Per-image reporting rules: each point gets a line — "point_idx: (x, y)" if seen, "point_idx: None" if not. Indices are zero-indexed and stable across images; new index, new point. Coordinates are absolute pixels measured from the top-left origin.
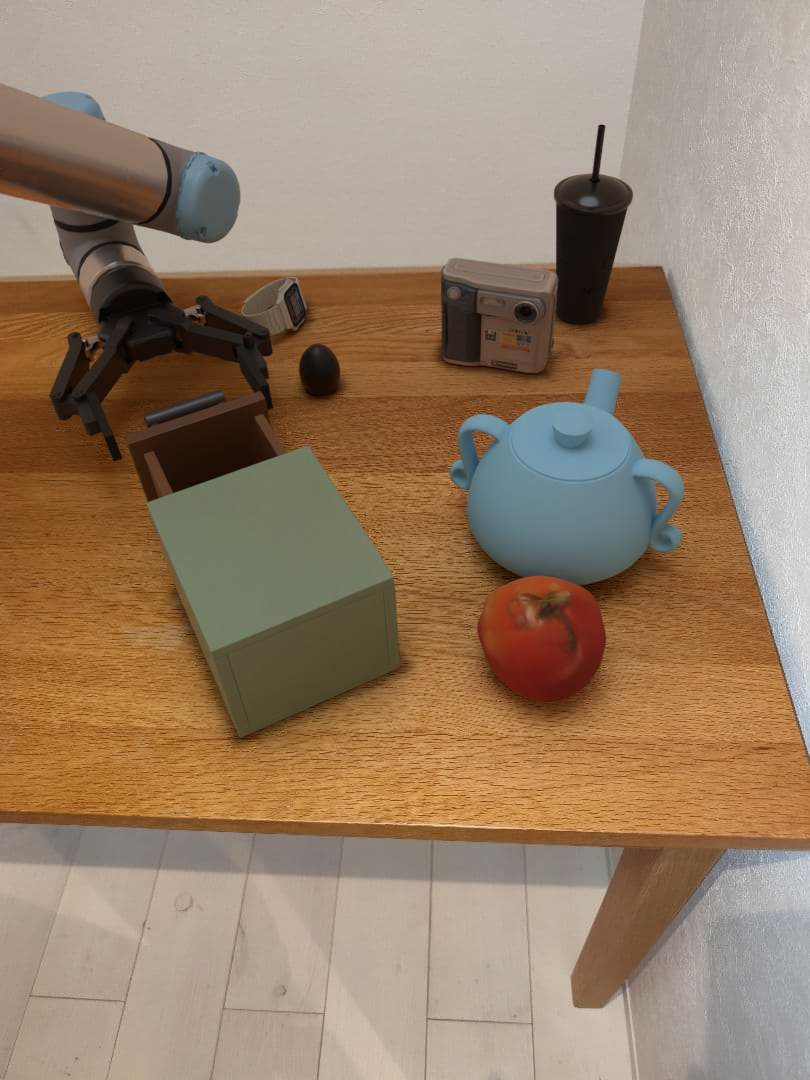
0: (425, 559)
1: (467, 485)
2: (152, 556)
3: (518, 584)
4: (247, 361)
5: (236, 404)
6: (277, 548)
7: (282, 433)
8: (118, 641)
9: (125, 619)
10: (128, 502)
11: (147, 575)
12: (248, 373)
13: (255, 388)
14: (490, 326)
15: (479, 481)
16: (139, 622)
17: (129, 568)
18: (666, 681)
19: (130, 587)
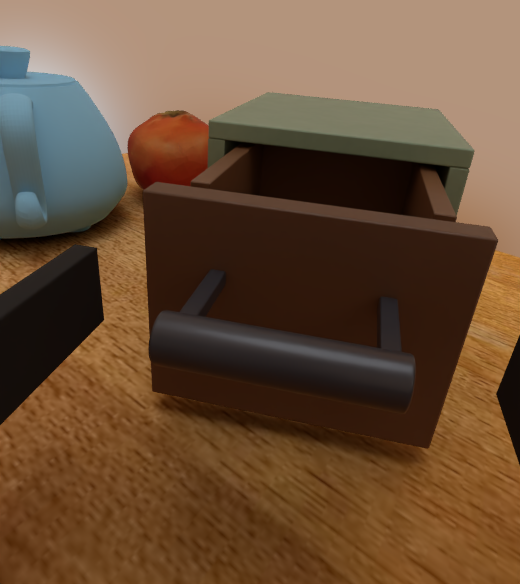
0: (144, 251)
1: (45, 209)
2: (444, 407)
3: (170, 128)
4: (7, 304)
5: (214, 193)
6: (339, 110)
7: (23, 493)
8: (514, 340)
9: (503, 355)
10: (474, 551)
11: (459, 386)
12: (32, 330)
13: (66, 322)
14: None
15: (76, 147)
16: (483, 344)
17: (489, 410)
18: (131, 173)
19: (491, 385)
